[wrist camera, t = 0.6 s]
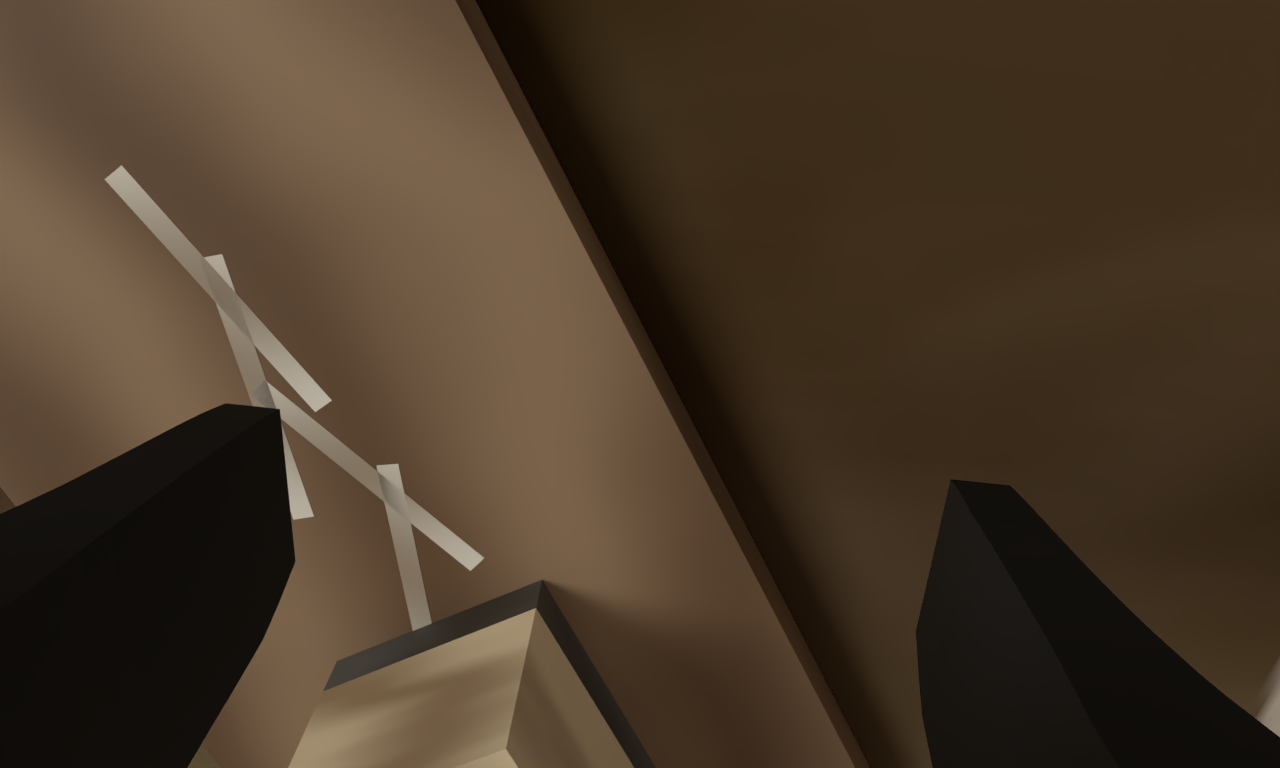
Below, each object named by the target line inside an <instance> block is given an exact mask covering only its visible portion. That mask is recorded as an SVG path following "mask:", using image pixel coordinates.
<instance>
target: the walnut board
mask: <svg viewBox="0 0 1280 768" xmlns="http://www.w3.org/2000/svg"><path fill="white" fill-rule="evenodd" d="M225 403H228V404H238V405H247V406H257V407H266V408H276V409H280V415H281V424H282V434H283V444H284V454H285V463H286V473H287V483H288V493H289V502H290V512H291V522H292V531H293V541H294V551H295V561H296V562H295V564H294V567H293V569H292V572H291V574H290V577H289V579H288V582H287V584H286V587H285V589H284V592H283V594H282V597H281V599H280V602H279V604H278V607H277V609H276V611H275V614H274V616H273V618H272V620H271V623H270V625H269V627H268V630H267V632H266V634H265V637H264V639H263V641H262V642H261V644H260V646H259V648H258V649H257V651H256V653H255V655H254V656H253V658H252V660H251V661H250V663H249V665H248V667H247V668H246V670H245V672H244V673H243V675H242V677H241V678H240V680H239V682H238V684H237V685H236V687H235V689H234V690H233V692H232V694H231V695H230V697H229V699H228V700H227V702H226V704H225V705H224V707H223V709H222V710H221V712H220V714H219V715H218V717H217V719H216V720H215V722H214V724H213V725H212V727H211V729H210V730H209V732H208V734H207V735H206V737H205V739H204V740H203V742H202V743H203V745H204V746H205V747H206V748H207V750H208V751H209V752H210V753H211V755H212V756H213V757H214V759H215V760H216V761H217V762H218V764H219V765H220V766H221V767H222V768H288V767H289V765H290V763H291V761H292V758H293V756H294V754H295V752H296V750H297V747H298V745H299V743H300V741H301V739H302V736H303V734H304V732H305V730H306V728H307V725H308V723H309V721H310V719H311V717H312V715H313V712H314V710H315V708H316V706H317V704H318V701H319V699H320V697H321V695H322V693H323V690H324V688H325V686H326V684H327V682H328V679H329V677H330V675H331V673H332V671H333V668H334V666H335V664H336V662H337V661H338V660H341V659H344V658H346V657H349V656H351V655H354V654H356V653H359V652H361V651H364V650H366V649H369V648H371V647H374V646H376V645H379V644H381V643H384V642H386V641H389V640H391V639H394V638H396V637H399V636H401V635H404V634H406V633H409V632H411V631H414V630H417V629H419V628H422V627H424V626H427V625H429V624H432V623H434V622H437V621H439V620H442V619H444V618H447V617H449V616H452V615H454V614H457V613H459V612H462V611H464V610H467V609H469V608H472V607H474V606H477V605H479V604H482V603H485V602H487V601H490V600H492V599H495V598H497V597H500V596H502V595H505V594H507V593H510V592H512V591H515V590H517V589H520V588H522V587H525V586H527V585H530V584H532V583H535V582H537V581H540V580H543V582H544V584H545V585H546V587H547V589H548V590H549V592H550V594H551V595H552V597H553V598H554V600H555V602H556V603H557V605H558V607H559V608H560V610H561V612H562V613H563V615H564V617H565V618H566V620H567V622H568V623H569V625H570V627H571V628H572V630H573V631H574V633H575V635H576V636H577V638H578V640H579V641H580V643H581V645H582V646H583V648H584V650H585V651H586V653H587V655H588V656H589V658H590V660H591V661H592V663H593V665H594V666H595V668H596V669H597V671H598V673H599V674H600V676H601V678H602V679H603V681H604V683H605V684H606V686H607V688H608V689H609V691H610V693H611V694H612V696H613V698H614V699H615V701H616V703H617V704H618V706H619V707H620V709H621V711H622V712H623V714H624V716H625V717H626V719H627V721H628V722H629V724H630V726H631V727H632V729H633V731H634V732H635V734H636V736H637V737H638V739H639V740H640V742H641V744H642V745H643V747H644V749H645V750H646V752H647V754H648V755H649V757H650V759H651V760H652V762H653V764H654V765H655V767H656V768H870V766H869V764H868V762H867V761H866V759H865V757H864V755H863V753H862V751H861V749H860V747H859V745H858V743H857V741H856V739H855V737H854V735H853V733H852V731H851V729H850V727H849V726H848V724H847V722H846V720H845V718H844V716H843V714H842V712H841V710H840V708H839V706H838V704H837V702H836V700H835V698H834V696H833V694H832V692H831V691H830V689H829V687H828V685H827V683H826V681H825V679H824V677H823V675H822V673H821V671H820V669H819V667H818V665H817V663H816V661H815V659H814V657H813V656H812V654H811V652H810V650H809V648H808V646H807V644H806V642H805V640H804V638H803V636H802V634H801V632H800V630H799V628H798V626H797V624H796V622H795V621H794V619H793V617H792V615H791V613H790V611H789V609H788V607H787V605H786V603H785V601H784V599H783V597H782V595H781V593H780V591H779V589H778V587H777V586H776V584H775V582H774V580H773V578H772V576H771V574H770V572H769V570H768V568H767V566H766V564H765V562H764V560H763V558H762V556H761V554H760V553H759V551H758V549H757V547H756V545H755V543H754V541H753V539H752V537H751V535H750V533H749V531H748V529H747V527H746V525H745V523H744V521H743V519H742V518H741V516H740V514H739V512H738V510H737V508H736V506H735V504H734V502H733V500H732V498H731V496H730V494H729V492H728V490H727V488H726V486H725V484H724V483H723V481H722V479H721V477H720V475H719V473H718V471H717V469H716V467H715V465H714V463H713V461H712V459H711V457H710V455H709V453H708V451H707V449H706V448H705V446H704V444H703V442H702V440H701V438H700V436H699V434H698V432H697V430H696V428H695V426H694V424H693V422H692V420H691V418H690V416H689V414H688V413H687V411H686V409H685V407H684V405H683V403H682V401H681V399H680V397H679V395H678V393H677V391H676V389H675V387H674V385H673V383H672V381H671V379H670V378H669V376H668V374H667V372H666V370H665V368H664V366H663V364H662V362H661V360H660V358H659V356H658V354H657V352H656V350H655V348H654V346H653V344H652V343H651V341H650V339H649V337H648V335H647V333H646V331H645V329H644V327H643V325H642V323H641V321H640V319H639V317H638V315H637V313H636V311H635V309H634V308H633V306H632V304H631V302H630V300H629V298H628V296H627V294H626V292H625V290H624V288H623V286H622V284H621V282H620V280H619V278H618V276H617V275H616V273H615V271H614V269H613V267H612V265H611V263H610V261H609V259H608V257H607V255H606V253H605V251H604V249H603V247H602V245H601V243H600V241H599V240H598V238H597V236H596V234H595V232H594V230H593V228H592V226H591V224H590V222H589V220H588V218H587V216H586V214H585V212H584V210H583V208H582V206H581V205H580V203H579V201H578V199H577V197H576V195H575V193H574V191H573V189H572V187H571V185H570V183H569V181H568V179H567V177H566V175H565V173H564V171H563V170H562V168H561V166H560V164H559V162H558V160H557V158H556V156H555V154H554V152H553V150H552V148H551V146H550V144H549V142H548V140H547V138H546V136H545V135H544V133H543V131H542V129H541V127H540V125H539V123H538V121H537V119H536V117H535V115H534V113H533V111H532V109H531V107H530V105H529V103H528V101H527V100H526V98H525V96H524V94H523V92H522V90H521V88H520V86H519V84H518V82H517V80H516V78H515V76H514V74H513V72H512V70H511V68H510V66H509V65H508V63H507V61H506V59H505V57H504V55H503V53H502V51H501V49H500V47H499V45H498V43H497V41H496V39H495V37H494V35H493V33H492V32H491V30H490V28H489V26H488V24H487V22H486V20H485V18H484V16H483V14H482V12H481V10H480V8H479V6H478V4H477V2H476V0H0V487H1V488H2V489H3V491H4V492H5V493H6V494H7V496H8V497H9V498H10V500H11V501H12V502H13V503H14V505H15V506H16V507H17V506H19V505H21V504H23V503H25V502H27V501H29V500H32V499H34V498H36V497H38V496H40V495H42V494H44V493H46V492H49V491H51V490H53V489H55V488H57V487H59V486H61V485H63V484H65V483H67V482H69V481H71V480H73V479H75V478H77V477H79V476H81V475H83V474H85V473H87V472H89V471H91V470H93V469H94V468H96V467H98V466H100V465H102V464H104V463H106V462H108V461H110V460H112V459H114V458H116V457H118V456H120V455H121V454H123V453H125V452H127V451H129V450H131V449H133V448H135V447H137V446H139V445H141V444H143V443H144V442H146V441H148V440H150V439H152V438H154V437H156V436H158V435H160V434H162V433H164V432H165V431H167V430H169V429H171V428H173V427H175V426H177V425H179V424H181V423H183V422H185V421H187V420H189V419H191V418H193V417H195V416H197V415H199V414H201V413H204V412H206V411H208V410H210V409H213V408H215V407H218V406H220V405H223V404H225Z"/></svg>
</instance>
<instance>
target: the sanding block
mask: <svg viewBox="0 0 1280 768" xmlns="http://www.w3.org/2000/svg"><path fill="white" fill-rule="evenodd" d="M288 768H656V767H655V765H654V764H653V762H652V760H651V759H650V757H649V755H648V754H647V752H646V750H645V749H644V747H643V745H642V744H641V742H640V740H639V739H638V737H637V736H636V734H635V732H634V731H633V729H632V727H631V726H630V724H629V722H628V721H627V719H626V717H625V716H624V714H623V712H622V711H621V709H620V707H619V706H618V704H617V703H616V701H615V699H614V698H613V696H612V694H611V693H610V691H609V689H608V688H607V686H606V684H605V683H604V681H603V679H602V678H601V676H600V674H599V673H598V671H597V669H596V668H595V666H594V665H593V663H592V661H591V660H590V658H589V656H588V655H587V653H586V651H585V650H584V648H583V646H582V645H581V643H580V641H579V640H578V638H577V636H576V635H575V633H574V631H573V630H572V628H571V627H570V625H569V623H568V622H567V620H566V618H565V617H564V615H563V613H562V612H561V610H560V608H559V607H558V605H557V603H556V602H555V600H554V598H553V597H552V595H551V594H550V592H549V590H548V589H547V587H546V585H545V584H544V582H543V580H540V581H537V582H535V583H532V584H530V585H527V586H525V587H522V588H520V589H517V590H515V591H512V592H510V593H507V594H505V595H502V596H500V597H497V598H495V599H492V600H490V601H487V602H485V603H482V604H479V605H477V606H474V607H472V608H469V609H467V610H464V611H462V612H459V613H457V614H454V615H452V616H449V617H447V618H444V619H442V620H439V621H437V622H434V623H432V624H429V625H427V626H424V627H422V628H419V629H417V630H414V631H411V632H409V633H406V634H404V635H401V636H399V637H396V638H394V639H391V640H389V641H386V642H384V643H381V644H379V645H376V646H374V647H371V648H369V649H366V650H364V651H361V652H359V653H356V654H354V655H351V656H349V657H346V658H344V659H341V660H338V661H337V662H336V664H335V666H334V668H333V671H332V673H331V675H330V677H329V679H328V682H327V684H326V686H325V688H324V690H323V693H322V695H321V697H320V699H319V701H318V704H317V706H316V708H315V710H314V712H313V715H312V717H311V719H310V721H309V723H308V725H307V728H306V730H305V732H304V734H303V736H302V739H301V741H300V743H299V745H298V747H297V750H296V752H295V754H294V756H293V758H292V761H291V763H290V765H289V767H288Z"/></svg>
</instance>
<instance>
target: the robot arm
mask: <svg viewBox="0 0 1280 768" xmlns="http://www.w3.org/2000/svg"><path fill="white" fill-rule="evenodd" d="M295 562H296V561H295V551H294V541H293V531H292V522H291V512H290V502H289V493H288V483H287V473H286V463H285V454H284V444H283V434H282V424H281V415H280V409H276V408H266V407H257V406H247V405H238V404H228V403H225V404H223V405H220V406H218V407H215V408H213V409H210V410H208V411H206V412H204V413H201V414H199V415H197V416H195V417H193V418H191V419H189V420H187V421H185V422H183V423H181V424H179V425H177V426H175V427H173V428H171V429H169V430H167V431H165V432H164V433H162V434H160V435H158V436H156V437H154V438H152V439H150V440H148V441H146V442H144V443H143V444H141V445H139V446H137V447H135V448H133V449H131V450H129V451H127V452H125V453H123V454H121V455H120V456H118V457H116V458H114V459H112V460H110V461H108V462H106V463H104V464H102V465H100V466H98V467H96V468H94V469H93V470H91V471H89V472H87V473H85V474H83V475H81V476H79V477H77V478H75V479H73V480H71V481H69V482H67V483H65V484H63V485H61V486H59V487H57V488H55V489H53V490H51V491H49V492H46V493H44V494H42V495H40V496H38V497H36V498H34V499H32V500H29V501H27V502H25V503H23V504H21V505H19V506H17V507H15V508H13V509H10V510H8V511H6V512H4V513H2V514H0V768H187V767H188V765H189V764H190V762H191V760H192V759H193V757H194V755H195V754H196V752H197V750H198V749H199V747H200V745H201V744H202V742H203V740H204V739H205V737H206V735H207V734H208V732H209V730H210V729H211V727H212V725H213V724H214V722H215V720H216V719H217V717H218V715H219V714H220V712H221V710H222V709H223V707H224V705H225V704H226V702H227V700H228V699H229V697H230V695H231V694H232V692H233V690H234V689H235V687H236V685H237V684H238V682H239V680H240V678H241V677H242V675H243V673H244V672H245V670H246V668H247V667H248V665H249V663H250V661H251V660H252V658H253V656H254V655H255V653H256V651H257V649H258V648H259V646H260V644H261V642H262V641H263V639H264V637H265V634H266V632H267V630H268V627H269V625H270V623H271V620H272V618H273V616H274V614H275V611H276V609H277V607H278V604H279V602H280V599H281V597H282V594H283V592H284V589H285V587H286V584H287V582H288V579H289V577H290V574H291V572H292V569H293V567H294V564H295ZM916 638H917V654H918V669H919V683H920V695H921V706H922V717H923V722H924V727H925V732H926V737H927V742H928V747H929V751H930V756H931V761H932V766H933V768H1280V737H1278V736H1277V735H1276V734H1275V733H1273V732H1272V731H1271V730H1269V729H1268V728H1267V727H1266V726H1264V725H1263V724H1262V723H1260V722H1259V721H1258V720H1257V719H1255V718H1254V717H1253V716H1251V715H1250V714H1249V713H1247V712H1246V711H1245V710H1244V709H1242V708H1241V707H1240V706H1238V705H1237V704H1236V703H1234V702H1233V701H1232V700H1231V699H1229V698H1228V697H1227V696H1226V695H1224V694H1223V693H1222V692H1221V691H1219V690H1218V689H1217V688H1216V687H1215V686H1213V685H1212V684H1211V683H1210V682H1209V681H1207V680H1206V679H1205V678H1204V677H1203V676H1201V675H1200V674H1199V673H1198V672H1197V671H1196V670H1195V669H1193V668H1192V667H1191V666H1190V665H1189V664H1188V663H1187V662H1186V661H1185V660H1183V659H1182V658H1181V657H1180V656H1179V655H1178V654H1177V653H1176V652H1175V651H1173V650H1172V649H1171V648H1170V647H1169V646H1168V645H1167V644H1166V643H1164V642H1163V641H1162V640H1161V639H1160V638H1159V637H1158V636H1157V635H1156V634H1154V633H1153V632H1152V631H1151V630H1150V629H1149V628H1148V627H1147V626H1146V625H1145V624H1144V623H1143V622H1142V621H1141V620H1140V619H1139V618H1138V617H1137V616H1136V615H1134V614H1133V613H1132V612H1131V611H1130V610H1129V609H1128V608H1127V607H1126V606H1125V605H1124V604H1123V603H1122V602H1121V601H1120V600H1119V599H1118V598H1117V597H1116V596H1115V595H1114V594H1113V593H1112V592H1111V591H1110V590H1109V589H1108V588H1107V587H1106V586H1105V585H1104V584H1103V583H1102V582H1101V581H1100V580H1099V579H1098V578H1097V577H1096V576H1095V575H1094V574H1093V572H1092V571H1091V570H1090V569H1089V568H1088V567H1087V566H1086V565H1085V564H1084V563H1083V562H1082V561H1081V560H1080V559H1079V558H1078V557H1077V556H1076V555H1075V554H1074V553H1073V551H1072V550H1071V549H1070V548H1069V547H1068V546H1067V545H1066V544H1065V543H1064V542H1063V541H1062V540H1061V539H1060V538H1059V537H1058V535H1057V534H1056V533H1055V532H1054V531H1053V530H1052V529H1051V528H1050V527H1049V526H1048V525H1047V524H1046V523H1045V521H1044V520H1043V519H1042V518H1041V517H1040V516H1039V515H1038V514H1037V513H1036V512H1035V511H1034V510H1033V509H1032V508H1031V506H1030V505H1029V504H1028V503H1027V502H1026V501H1025V500H1024V499H1023V498H1022V497H1021V496H1020V495H1019V494H1018V493H1017V492H1016V491H1015V490H1014V489H1013V488H1012V487H1011V486H1008V485H999V484H989V483H980V482H970V481H961V480H951V481H950V485H949V489H948V494H947V498H946V502H945V507H944V511H943V516H942V520H941V524H940V529H939V533H938V538H937V542H936V546H935V551H934V555H933V559H932V564H931V568H930V573H929V577H928V581H927V586H926V590H925V595H924V599H923V603H922V608H921V612H920V616H919V621H918V625H917V630H916Z"/></svg>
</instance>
